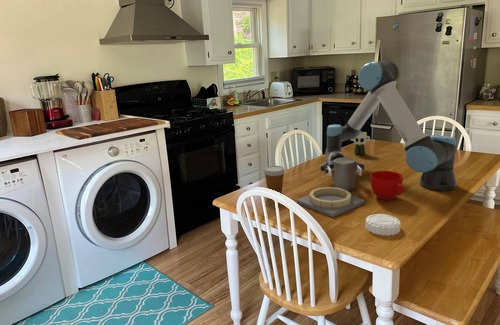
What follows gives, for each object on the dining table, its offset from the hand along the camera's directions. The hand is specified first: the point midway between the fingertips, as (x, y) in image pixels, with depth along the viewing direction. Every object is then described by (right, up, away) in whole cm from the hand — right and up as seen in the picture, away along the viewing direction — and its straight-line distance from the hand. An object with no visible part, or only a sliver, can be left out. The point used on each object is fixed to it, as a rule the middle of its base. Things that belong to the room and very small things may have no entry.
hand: (345, 173), depth 172 cm
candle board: (-9, -12, -11) cm, 19 cm away
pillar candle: (+1, -8, +5) cm, 9 cm away
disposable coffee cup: (-32, -10, +3) cm, 33 cm away
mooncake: (+5, -19, -34) cm, 40 cm away
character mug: (+23, +10, +59) cm, 65 cm away
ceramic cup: (+16, -11, -9) cm, 21 cm away
